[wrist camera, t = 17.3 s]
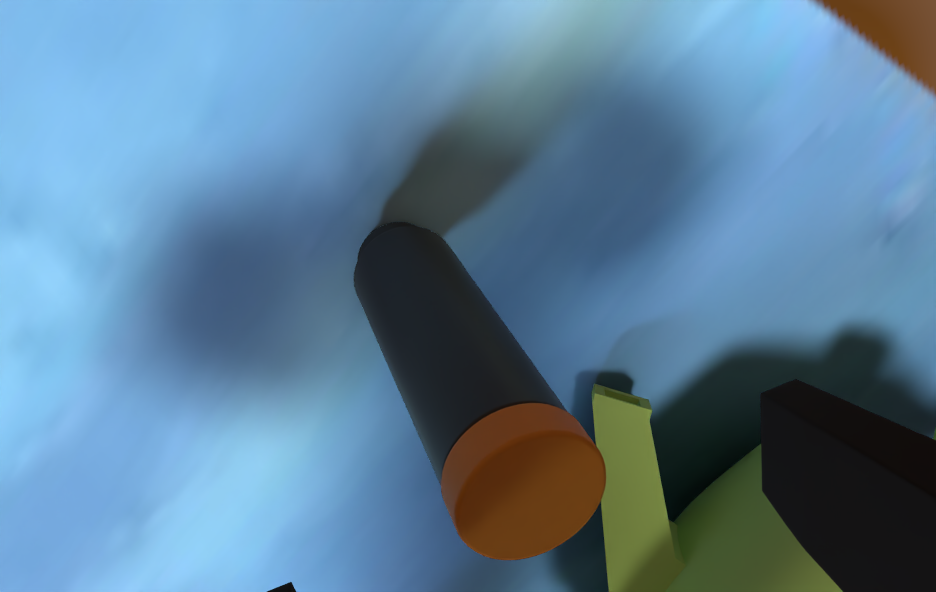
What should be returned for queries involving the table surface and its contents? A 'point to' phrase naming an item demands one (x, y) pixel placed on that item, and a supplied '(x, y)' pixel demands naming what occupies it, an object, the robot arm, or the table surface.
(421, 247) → the marker
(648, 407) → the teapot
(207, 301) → the table surface
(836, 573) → the robot arm
